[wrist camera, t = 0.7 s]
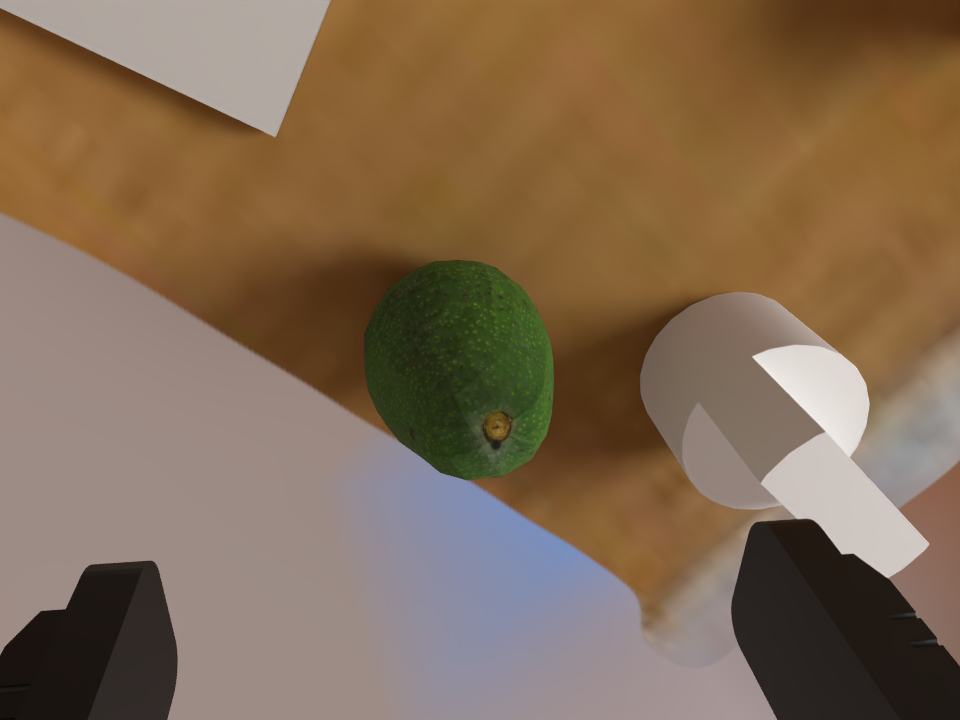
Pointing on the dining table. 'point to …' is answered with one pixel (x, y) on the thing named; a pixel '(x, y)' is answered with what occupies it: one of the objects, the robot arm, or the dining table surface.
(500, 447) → the fruit
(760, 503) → the cylinder with rectangular tab
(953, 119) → the dining table surface
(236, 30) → the white and grey slab
